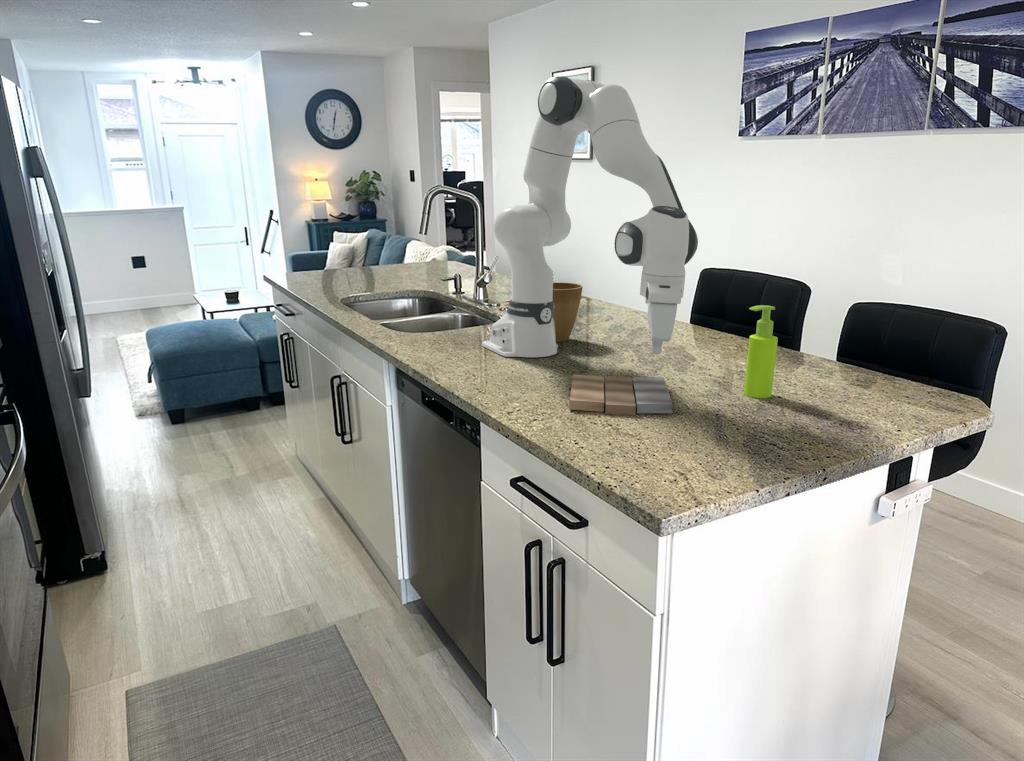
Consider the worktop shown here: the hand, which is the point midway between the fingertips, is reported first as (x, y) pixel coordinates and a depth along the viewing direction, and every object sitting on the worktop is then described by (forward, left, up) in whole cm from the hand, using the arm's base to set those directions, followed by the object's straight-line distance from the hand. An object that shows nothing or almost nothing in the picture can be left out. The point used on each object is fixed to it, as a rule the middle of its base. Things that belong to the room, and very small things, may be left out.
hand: (655, 352), depth 154 cm
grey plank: (0, 0, -10) cm, 10 cm away
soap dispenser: (+11, +22, -11) cm, 27 cm away
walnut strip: (-5, -5, -11) cm, 13 cm away
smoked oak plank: (-10, -10, -10) cm, 18 cm away
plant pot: (-57, +23, -11) cm, 62 cm away
